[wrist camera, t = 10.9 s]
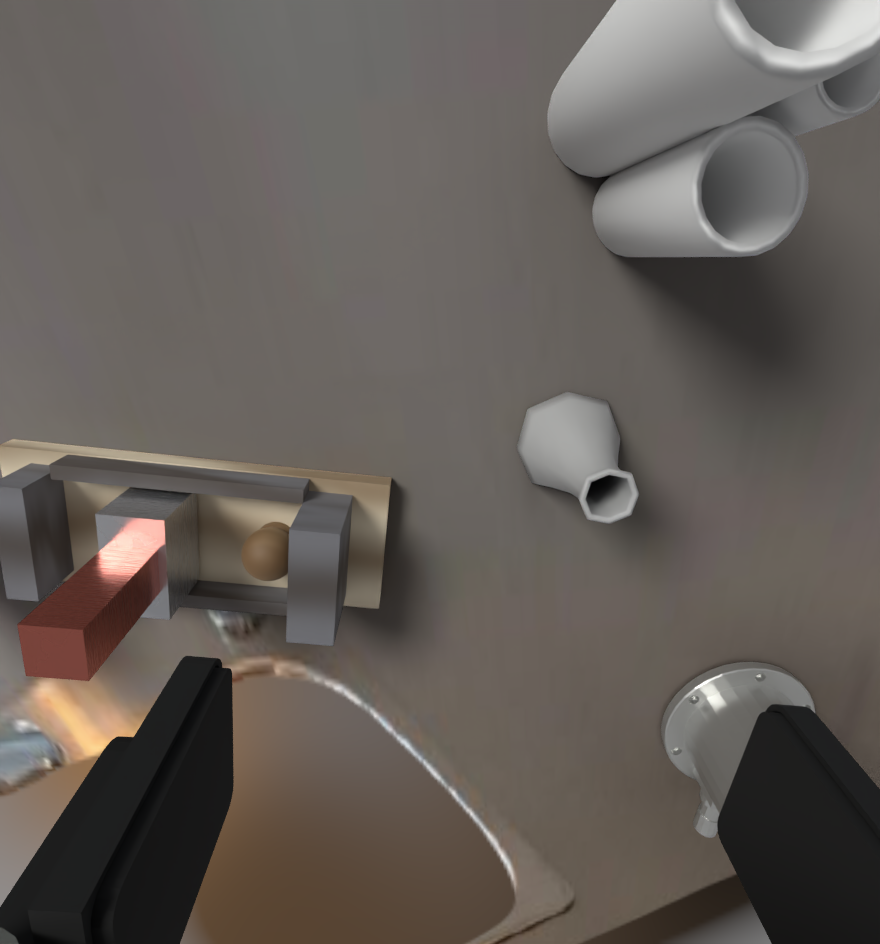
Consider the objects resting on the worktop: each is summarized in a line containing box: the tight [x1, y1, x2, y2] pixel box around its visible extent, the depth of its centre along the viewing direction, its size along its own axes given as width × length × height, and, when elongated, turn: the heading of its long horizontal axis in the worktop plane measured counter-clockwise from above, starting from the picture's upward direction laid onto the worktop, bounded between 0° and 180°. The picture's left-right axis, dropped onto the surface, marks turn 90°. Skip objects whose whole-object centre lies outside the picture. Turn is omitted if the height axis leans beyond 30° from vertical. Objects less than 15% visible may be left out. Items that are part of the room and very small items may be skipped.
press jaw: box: [18, 487, 199, 681], centre depth 34 cm, size 7×4×13 cm, turn 173°
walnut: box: [241, 522, 290, 581], centre depth 39 cm, size 4×4×4 cm
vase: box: [547, 0, 880, 257], centre depth 24 cm, size 11×7×20 cm, turn 34°
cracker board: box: [0, 439, 391, 646], centre depth 38 cm, size 10×26×8 cm, turn 83°
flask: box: [517, 392, 639, 524], centre depth 35 cm, size 7×7×10 cm
